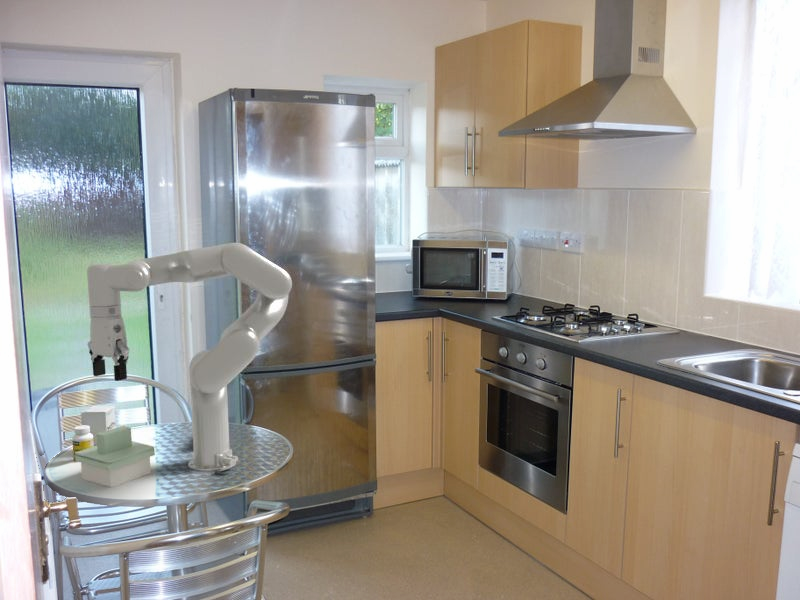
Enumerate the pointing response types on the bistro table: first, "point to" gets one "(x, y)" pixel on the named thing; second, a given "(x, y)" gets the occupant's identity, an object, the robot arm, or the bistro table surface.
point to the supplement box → (99, 419)
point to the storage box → (116, 473)
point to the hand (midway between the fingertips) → (110, 377)
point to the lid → (114, 450)
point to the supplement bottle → (82, 439)
